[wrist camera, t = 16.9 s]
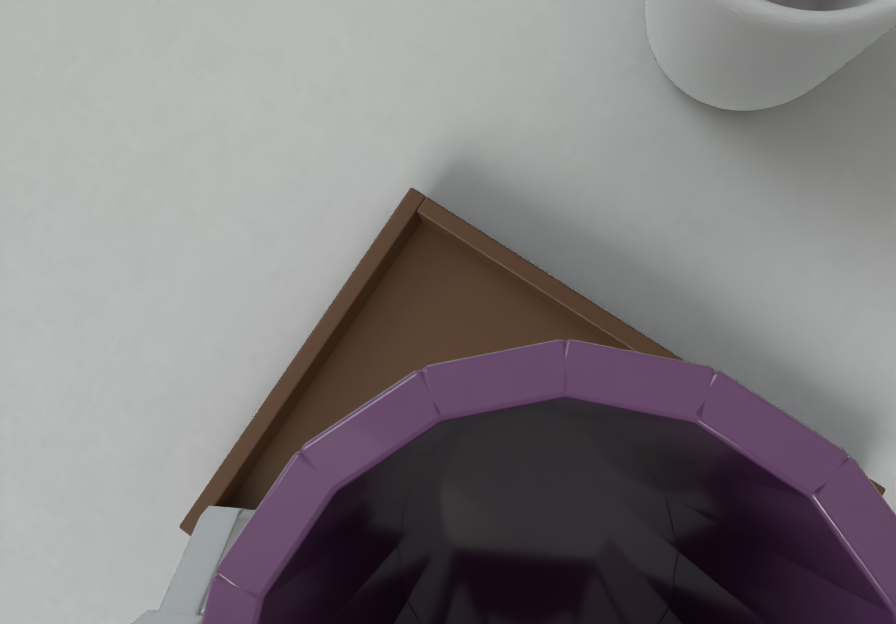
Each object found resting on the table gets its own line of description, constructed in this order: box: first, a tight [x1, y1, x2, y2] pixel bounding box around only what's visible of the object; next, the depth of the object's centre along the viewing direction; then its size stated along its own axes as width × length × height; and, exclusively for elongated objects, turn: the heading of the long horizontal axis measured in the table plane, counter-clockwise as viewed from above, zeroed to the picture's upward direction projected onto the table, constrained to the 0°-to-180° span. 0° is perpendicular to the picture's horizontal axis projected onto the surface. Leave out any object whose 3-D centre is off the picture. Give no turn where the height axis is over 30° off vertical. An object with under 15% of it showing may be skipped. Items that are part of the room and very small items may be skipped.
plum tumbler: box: [201, 339, 896, 624], centre depth 11 cm, size 6×6×10 cm
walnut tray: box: [180, 188, 885, 536], centre depth 25 cm, size 17×13×2 cm
